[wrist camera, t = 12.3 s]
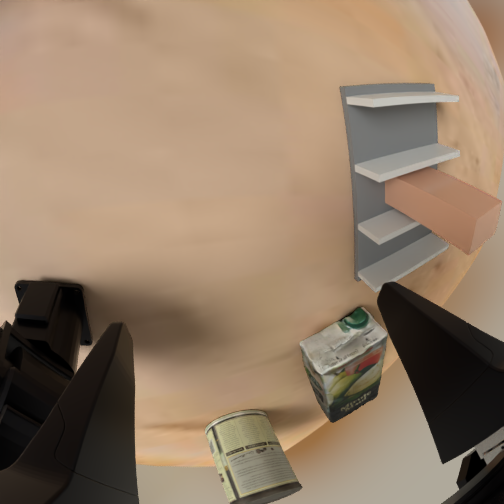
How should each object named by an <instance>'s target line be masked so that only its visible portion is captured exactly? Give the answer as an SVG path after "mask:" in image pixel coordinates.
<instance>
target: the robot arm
mask: <svg viewBox="0 0 504 504" xmlns="http://www.w3.org/2000/svg"><path fill="white" fill-rule="evenodd" d="M19 286H20V287H21V288H20V287H19ZM75 290H78V291H79V292H76V291H75ZM15 291H16V295H17V298H18V301H19V306H18V309H17V311H16V313H15V320H14V322H13V325H11V324H10V323H8V322H7V321H5V322H4V324H3V325H2V326H1V327H0V504H139V498H138V489H137V477H136V460H135V376H134V359H133V341H132V338H131V335H130V333H129V331H128V329H127V327H126V325H125V323H124V322H112V323H111V324H110V325H109V327H108V328H107V329H106V331H105V332H104V333H103V335H102V336H101V338H100V339H99V340H98V342H97V343H96V345H95V346H94V347H93V349H92V350H91V352H90V353H89V355H88V356H87V357H86V359H85V360H84V362H83V363H82V365H81V366H80V368H79V369H78V371H77V363H78V355H79V348H80V345H86V346H89V345H91V344H92V334H91V330H90V325H89V320H88V315H87V309H86V303H85V297H84V290H83V288H82V286H80V285H78V284H62V283H52V282H37V281H17V282H16V284H15ZM377 304H378V307H379V310H380V312H381V315H382V317H383V320H384V323H385V325H386V328H387V330H388V333H389V336H390V338H391V340H392V342H393V345H394V347H395V349H396V351H397V353H398V355H399V357H400V359H401V361H402V364H403V366H404V368H405V370H406V372H407V374H408V377H409V379H410V381H411V384H412V386H413V388H414V390H415V393H416V395H417V397H418V400H419V402H420V405H421V407H422V410H423V412H424V415H425V417H426V420H427V422H428V425H429V428H430V431H431V433H432V436H433V439H434V442H435V444H436V447H437V450H438V453H439V456H440V459H441V462H442V464H444V463H446V462H448V461H450V460H452V459H454V458H456V457H457V456H459V455H461V454H463V453H464V452H466V451H468V450H469V449H471V448H472V447H475V449H474V450H473V451H471V452H470V453H469V454H468V455H467V456H465V457H464V458H463V460H462V464H461V468H460V472H459V476H458V479H457V482H456V483H457V485H458V487H459V491H457V492H456V493H455V494H454V495H453V496H451V497H450V498H448V499H447V500H446V501H444V502H443V503H442V504H504V342H502V341H500V340H498V339H496V338H494V337H492V336H490V335H489V334H487V333H485V332H483V331H481V330H479V329H478V328H476V327H474V326H472V325H471V324H469V323H466V321H464V320H462V319H460V318H459V317H457V316H455V315H454V314H452V313H450V312H448V311H447V310H445V309H443V308H441V307H440V306H438V305H436V304H434V303H432V302H431V301H429V300H427V299H425V298H424V297H422V296H420V295H418V294H416V293H414V292H413V291H411V290H409V289H407V288H405V287H403V286H402V285H400V284H398V283H396V282H394V281H390V282H386V283H384V284H383V285H382V288H381V290H380V293H379V296H378V298H377ZM87 340H88V341H87ZM76 371H77V372H76Z"/></svg>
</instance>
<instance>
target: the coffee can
mask: <svg viewBox="0 0 504 504" xmlns="http://www.w3.org/2000/svg"><path fill="white" fill-rule="evenodd" d="M205 434H206V436H207V439H208V442H209V445H210V449H211V452H212V455H213V458H214V461H215V464H216V467H217V470H218V473H219V476H220V479H221V481H222V485H223V487H224V490H225V493H226V495H227V498H228V500H229V503H230V504H267V503H270V502H274V501H276V500H279V499H281V498H284V497H287V496H289V495H291V494H293V493H295V492H297V491H299V490H300V489H301V488H302V486H301V484H300V483H299V482H298V480H297V478H296V476H295V474H294V472H293V470H292V467H291V466H290V464H289V461H288V460H287V458H286V456H285V454H284V452H283V450H282V447H281V445H280V443H279V441H278V439H277V437H276V435H275V433H274V430H273V428H272V426H271V424H270V422H269V419H268V417H267V414H266V413H265V412H263V411H260V410H244V411H238V412H234V413H231V414H228V415H225V416H222V417H220V418H218V419H216V420H214V421H213V422H211V423H210V424H209V425H208V426H207V427H206V429H205Z"/></svg>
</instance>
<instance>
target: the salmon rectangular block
mask: <svg viewBox="0 0 504 504" xmlns="http://www.w3.org/2000/svg"><path fill="white" fill-rule="evenodd" d="M385 203H386V204H388V205H390V206H392V207H393V208H395V209H397V210H399V211H400V212H402V213H404V214H405V215H407V216H409V217H411V218H412V219H414V220H416V221H417V222H419V223H420V224H422V225H424V226H425V227H427V228H428V229H430V230H432V231H433V232H435V233H436V234H438V235H439V236H441V237H442V238H444V239H446V240H447V241H449V242H450V243H451V244H453V245H454V246H456V247H457V248H459V249H460V250H462V251H463V252H465V253H466V254H467V255H470V254H471V253H472V252H474V251H475V250H476V249H477V248H478V247H480V246H481V245H482V244H483V243H484V242H485V241H487V240H488V239H489V238H490V237H491V236H493V235H494V234H495V232H496V228H497V223H498V219H499V214H500V210H501V205H502V201H501V200H499V199H497V198H495V197H493V196H491V195H490V194H488V193H486V192H484V191H482V190H480V189H478V188H476V187H474V186H472V185H470V184H468V183H465V182H463V181H461V180H459V179H457V178H455V177H452V176H450V175H448V174H445V173H443V172H441V171H438V170H436V169H434V168H431V167H429V166H428V167H425V168H422V169H418V170H415V171H412V172H409V173H406V174H403V175H400V176H397V177H394V178H391V179H389V180H386V181H385Z"/></svg>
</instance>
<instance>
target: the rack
mask: <svg viewBox="0 0 504 504" xmlns="http://www.w3.org/2000/svg"><path fill="white" fill-rule="evenodd" d="M340 92H341V97H342V104H343V110H344V117H345V124H346V131H347V139H348V148H349V157H350V167H351V179H352V192H353V210H354V237H355V279H356V280H357V281H360V280H363V281H364V282H365V283H366V284H367V285H368V286H369V287H370V288H371V289H372V290H373V291H374V292H375V293H376V292H378V291H380V290H381V288H382V285H383V284H384V283H386V282H390V281H394V282H395V281H397V280H399V279H400V278H402V277H404V276H405V275H407V274H409V273H410V272H412V271H414V270H415V269H417V268H418V267H420V266H422V265H423V264H425V263H426V262H428V261H430V260H431V259H433V258H434V257H436V256H437V255H439V254H440V253H442V252H443V251H445V250H446V249H448V246H449V244H448V243H446V242H445V241H443V240H442V239H440V238H439V237H437V236H436V235H434V234H433V233H431V232H432V230H430V229H428V228H427V227H425V226H424V225H422V224H420V223H419V222H417V221H416V220H414V219H412V218H411V217H409V216H407V215H405V214H404V213H402V212H400V211H399V210H397V209H395V208H393V207H392V206H390V205H388V204H386V203H385V181H386V180H389V179H391V178H394V177H397V176H400V175H403V174H406V173H409V172H412V171H415V170H418V169H422V168H425V167H428V166H429V167H431V168H434V169H436V170H437V163H440V162H443V161H446V160H449V159H453V158H456V157H459V156H460V151H459V150H457V149H454V148H451V147H448V146H445V145H442V144H439V143H438V133H437V110H436V102H459V96H457V95H452V94H447V93H441V92H435V87H434V84H428V83H386V84H366V85H353V86H343V87H340Z"/></svg>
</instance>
